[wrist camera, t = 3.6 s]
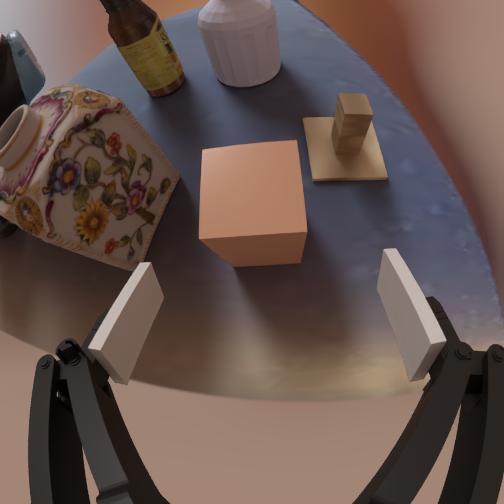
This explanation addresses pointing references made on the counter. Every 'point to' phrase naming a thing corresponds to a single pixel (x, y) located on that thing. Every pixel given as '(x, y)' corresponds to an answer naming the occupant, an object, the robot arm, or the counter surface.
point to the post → (345, 142)
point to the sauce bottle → (144, 45)
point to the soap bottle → (241, 40)
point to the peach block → (253, 203)
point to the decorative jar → (84, 175)
